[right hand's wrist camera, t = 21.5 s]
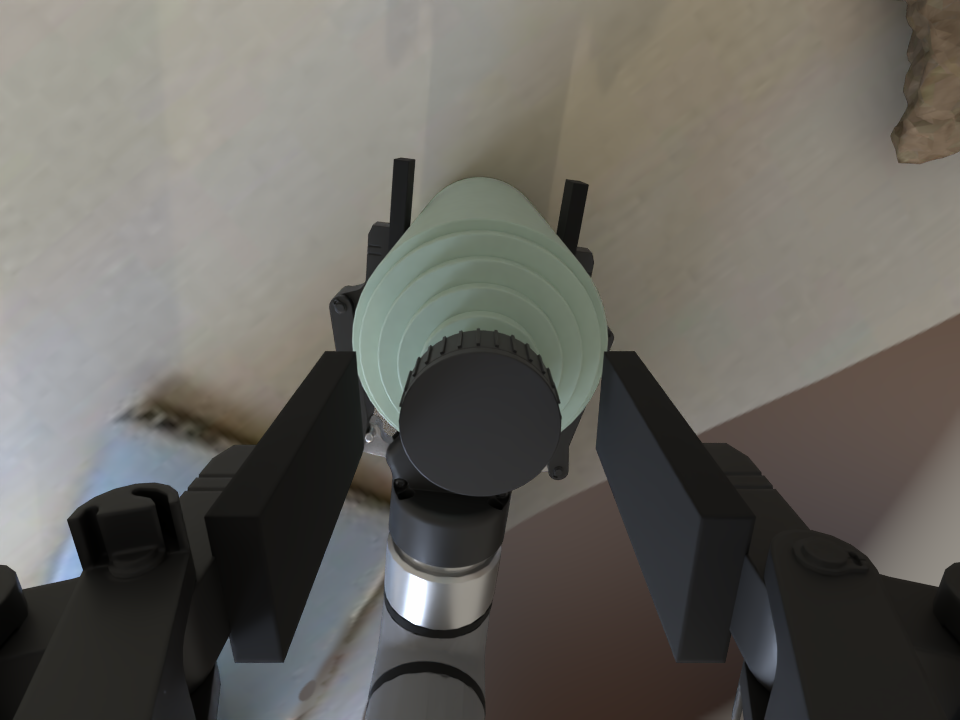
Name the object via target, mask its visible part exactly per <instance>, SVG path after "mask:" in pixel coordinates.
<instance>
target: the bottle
mask: <svg viewBox="0 0 960 720" xmlns="http://www.w3.org/2000/svg"><path fill="white" fill-rule="evenodd" d="M477 328H480V330H487V331H494V330H498V332H499V333H503V334H506V335H509V336H511V335H514V336H515V338H516V339H517V340H519V341H521V342H523V343H524V344H526V343H528V344H529V346H530V348H531V349H532V350H533V351H534V352H535V353H536V354H537V355H539V354H540V355H541V357H542V361H543V363H544V365H545V367H546V368H548V367H549V369H550V371H551V375H552V378H553V381H554V383H555V386H556V389H557V392H558V395H559V399H560V402H561V404H559V408H560V412H561V416H562V420H561V432H562V431H563V430H564V429H565V428H566V427H567V426H569V425H570V424H571V423H572V422H573V421H574V420H575V419H576V417H577V416H578V415H579V414H580V413H581V412H582V411H583V409H584V408H585V406H586V405H587V404H588V402H589V401H590V399H591V398H592V396H593V394H594V392H595V390H596V388H597V386H598V384H599V381H600V379H601V376H602V369H603V357H604V351H607V346H608V331H607V321H606V316H605V311H604V307H603V304H602V301H601V298H600V296H599V293H598V291H597V289H596V287H595V285H594V283H593V281H592V279H591V277H590V276H589V275H588V273H587V272H586V271H585V269H584V268H583V266H582V265H581V264H580V262H579V261H578V260H577V259H576V258H575V256H574V255H573V254H572V253H571V251H570V250H569V249H568V248H567V247H566V245H565V244H564V243H563V242H562V240H561V239H560V238H559V237H558V236H557V234H556V233H555V232H554V231H553V229H552V228H551V227H550V226H549V224H548V223H547V222H546V221H545V220H544V218H543V217H542V216H541V215H540V213H539V212H538V211H537V210H536V209H535V207H534V206H533V205H532V204H531V202H530V201H529V200H528V199H527V198H526V197H525V196H524V195H523V194H522V193H521V192H520V191H519V190H517V189H516V188H514V187H513V186H511V185H509V184H508V183H505V182H503V181H501V180H497V179H493V178H486V177H473V178H467V179H463V180H460V181H457V182H455V183H453V184H450V185H449V186H447V187H446V188H444V189H443V190H441V191H440V192H439V193H438V194H437V195H436V196H435V197H434V198H433V199H432V200H431V201H430V202H429V204H428V205H427V206H426V207H425V209H424V210H423V211H422V212H421V214H420V215H419V216H418V217H417V218H416V220H415V221H414V222H413V223H412V225H411V226H410V227H409V228H408V230H407V231H406V232H405V233H404V234H403V236H402V237H401V238H400V239H399V241H398V242H397V243H396V244H395V245H394V247H393V248H392V249H391V250H390V252H389V253H388V254H387V255H386V257H385V258H384V259H383V260H382V261H381V263H380V264H379V265H378V266H377V268H376V269H375V271H374V272H373V274H372V275H371V277H370V278H369V279H368V281H367V283H366V285H365V287H364V289H363V291H362V293H361V296H360V299H359V302H358V305H357V308H356V311H355V317H354V322H353V334H352V345H353V351H356V357H357V369H358V375H359V378H360V381H361V383H362V386H363V388H364V390H365V392H366V393H367V395H368V397H369V399H370V401H371V402H372V403H373V405H374V406H375V408H376V409H377V410H378V412H379V413H380V414H381V415H382V416H383V417H384V418H385V419H386V421H387V422H388V423H389V424H390V425H392V426H393V427H394V428H395V429H396V430H398V431H399V421H398V420H399V415H400V410H401V407H399V404H400V401H401V397H402V394H403V391H404V388H405V384H406V381H407V378H408V374H409V372H410V370H411V371H413V369H414V367H415V364H416V361H417V358H418V357H420V358H421V357H422V355H423V354H424V353H425V352H426V351H427V350H428V347H429V346H430V345H432V346H433V345H435V344H436V343H438V342H439V341H441V340H442V338H443V337H444V336H446V337H449V336H452V335H454V334H458V333H459V331H461V330H462V331H463V332H466V331H473V330H477Z"/></svg>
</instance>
